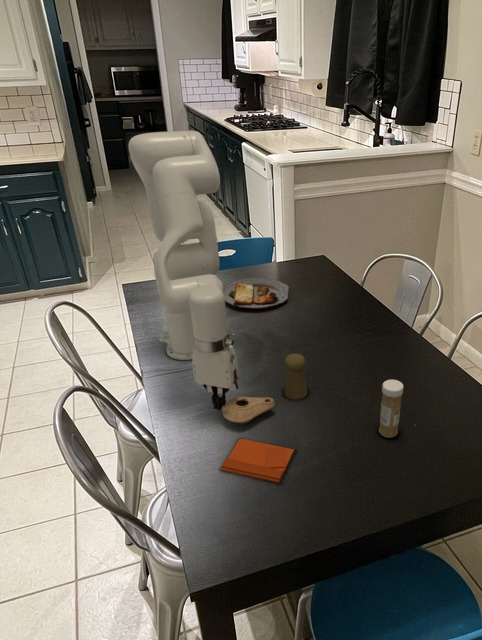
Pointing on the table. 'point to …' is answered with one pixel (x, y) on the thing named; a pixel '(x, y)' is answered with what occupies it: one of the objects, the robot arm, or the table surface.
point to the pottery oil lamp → (246, 408)
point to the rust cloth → (258, 460)
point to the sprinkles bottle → (390, 408)
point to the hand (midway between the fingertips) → (219, 406)
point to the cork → (295, 377)
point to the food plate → (256, 293)
